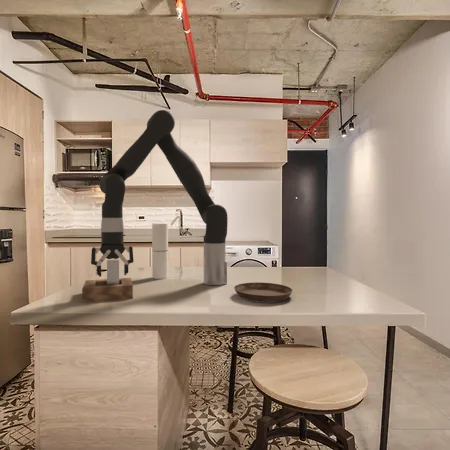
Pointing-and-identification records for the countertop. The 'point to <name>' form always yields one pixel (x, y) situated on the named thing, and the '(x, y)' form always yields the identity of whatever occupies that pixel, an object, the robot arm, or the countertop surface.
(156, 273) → the cylindrical container
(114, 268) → the grey block
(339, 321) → the countertop surface
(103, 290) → the well block
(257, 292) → the plant saucer
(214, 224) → the robot arm
